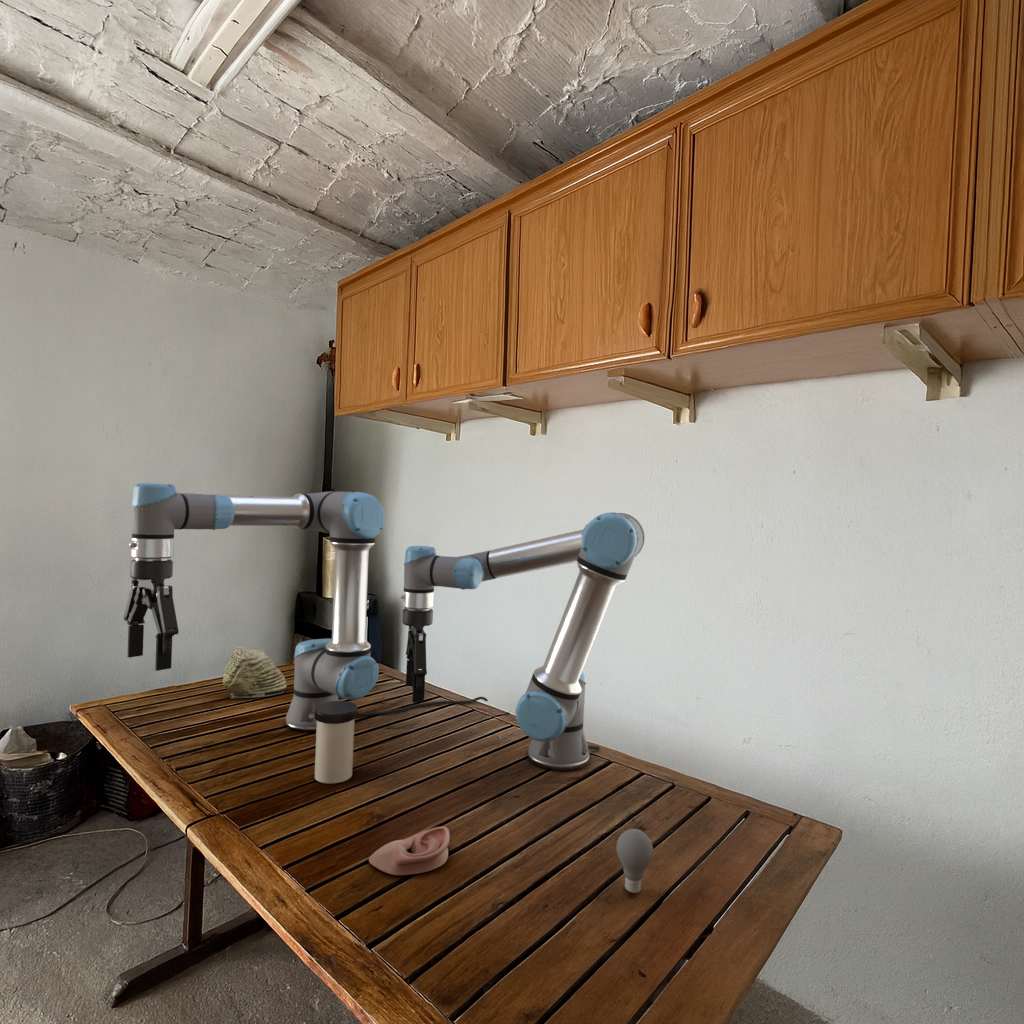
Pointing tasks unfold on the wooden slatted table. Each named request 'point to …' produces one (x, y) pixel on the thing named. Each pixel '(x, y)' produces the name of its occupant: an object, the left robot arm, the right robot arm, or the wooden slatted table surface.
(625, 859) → the light bulb
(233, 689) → the fossil
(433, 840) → the anatomical model
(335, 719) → the lid
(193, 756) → the wooden slatted table surface
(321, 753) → the jar
